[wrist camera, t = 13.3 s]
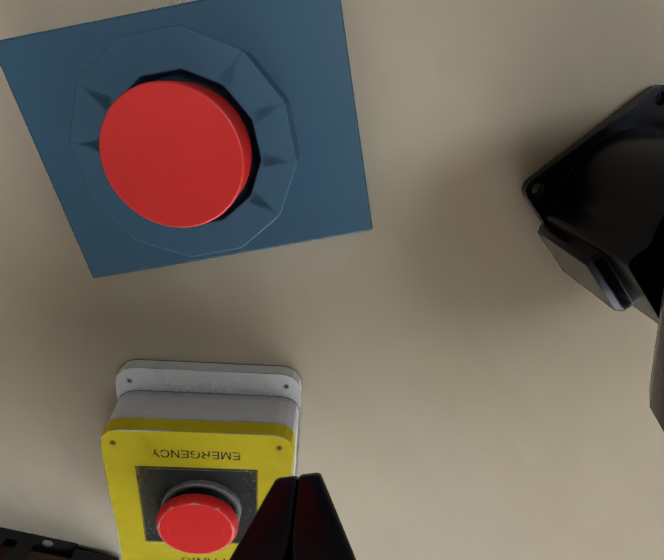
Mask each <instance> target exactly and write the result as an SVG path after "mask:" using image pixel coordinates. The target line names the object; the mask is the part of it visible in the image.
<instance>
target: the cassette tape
mask: <svg viewBox="0 0 664 560" xmlns="http://www.w3.org/2000/svg"><path fill="white" fill-rule="evenodd" d="M14 540H19V542H18V543H17V545H16V544H15V543H14ZM44 540H49V541H52V542H53V546H52V547H45V546H43V545H42V541H44ZM77 546H78V544H74V543H69V542H65V541H60V540H55V539H50V538H45V537H41V536H36V535H31V534H26V533H21V532H17V531H12V530H7V529H2V528H0V560H119V559H118V558H117V557H113V556H108V555H103V554H98V553H94V552H89V551H84V550H79V549H76V547H77Z"/></svg>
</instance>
